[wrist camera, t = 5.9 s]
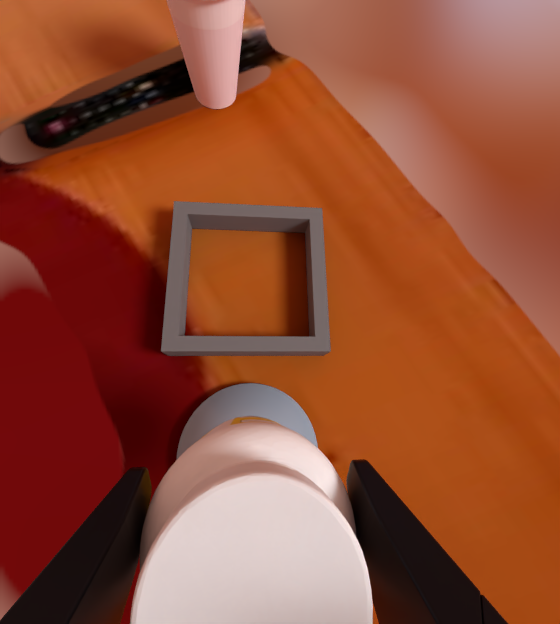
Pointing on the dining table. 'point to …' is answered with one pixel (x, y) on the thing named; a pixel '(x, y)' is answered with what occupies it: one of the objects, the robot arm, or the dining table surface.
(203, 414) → the coaster
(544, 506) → the dining table surface
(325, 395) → the dining table surface
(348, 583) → the supplement bottle
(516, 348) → the dining table surface
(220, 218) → the frame
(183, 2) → the smoothie
